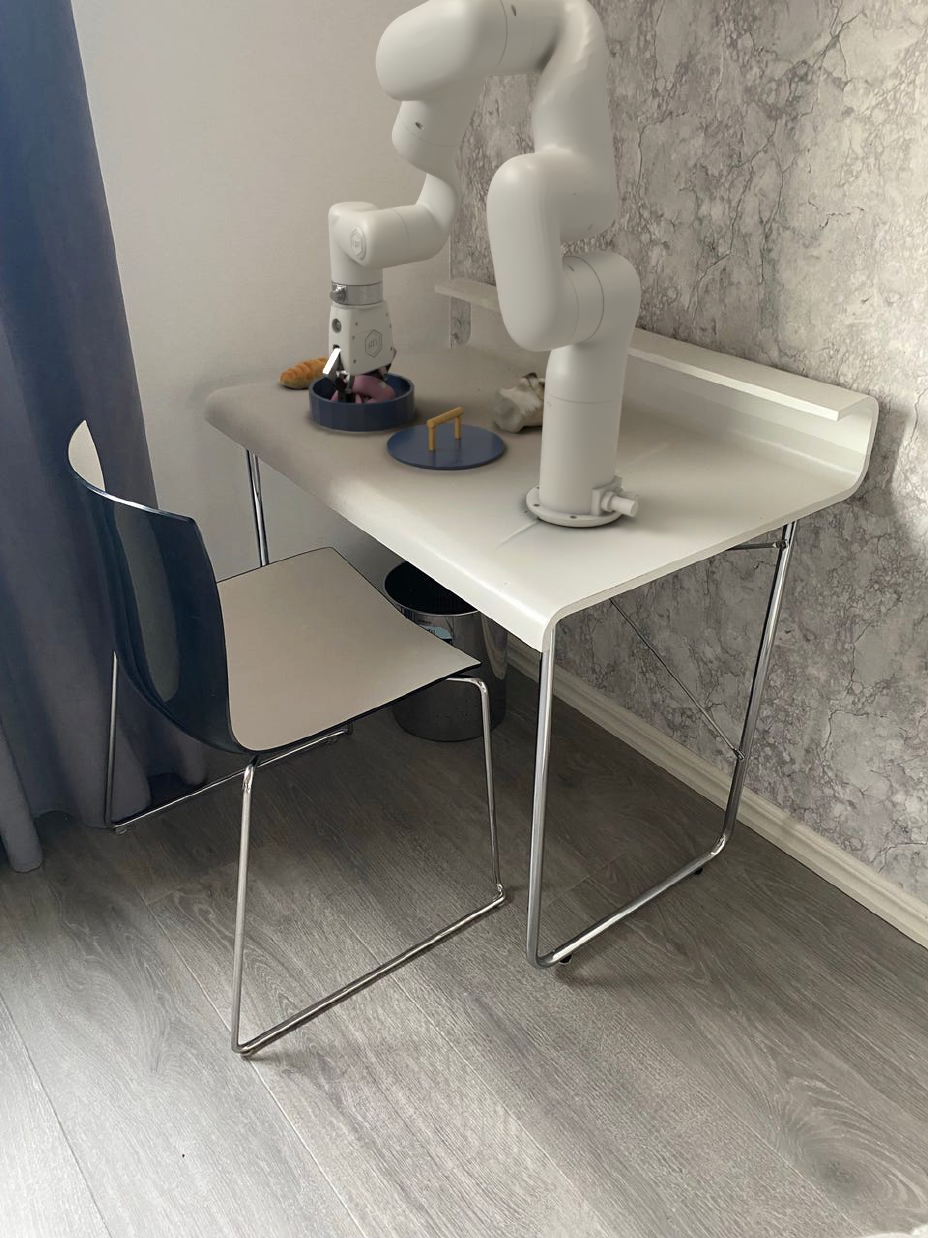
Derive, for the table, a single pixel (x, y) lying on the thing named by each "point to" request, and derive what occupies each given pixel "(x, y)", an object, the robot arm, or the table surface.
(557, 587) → the table surface
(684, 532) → the table surface
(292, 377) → the pastry
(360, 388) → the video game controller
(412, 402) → the tin
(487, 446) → the lid
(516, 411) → the ceramic sculpture
